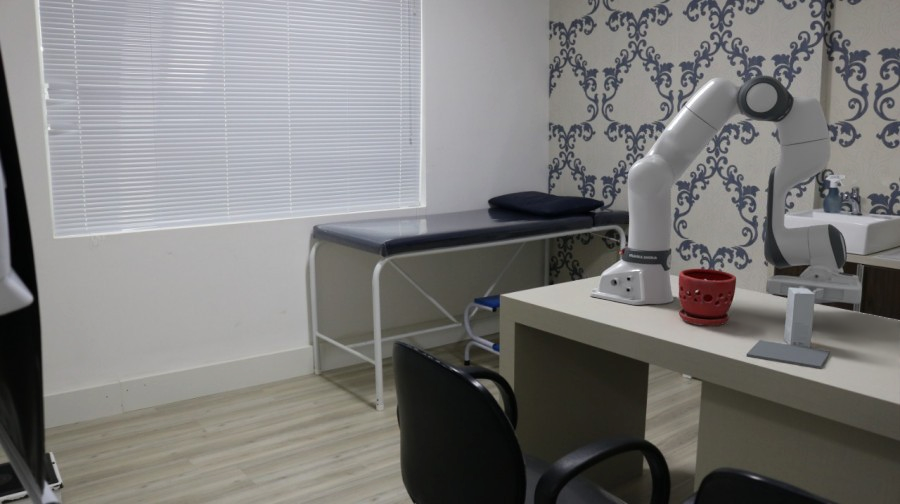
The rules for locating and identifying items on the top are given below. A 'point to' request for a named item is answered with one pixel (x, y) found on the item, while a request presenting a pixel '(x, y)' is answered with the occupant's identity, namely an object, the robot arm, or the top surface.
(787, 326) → the skincare box
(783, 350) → the slate mat
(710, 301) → the plant pot
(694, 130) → the robot arm
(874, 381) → the top surface
